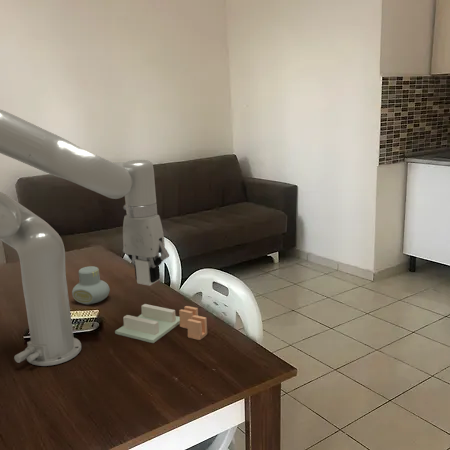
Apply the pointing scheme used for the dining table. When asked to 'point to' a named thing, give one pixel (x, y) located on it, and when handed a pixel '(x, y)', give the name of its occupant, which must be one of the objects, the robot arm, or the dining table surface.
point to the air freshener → (90, 286)
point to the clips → (193, 322)
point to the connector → (143, 270)
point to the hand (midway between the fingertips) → (147, 278)
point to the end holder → (149, 323)
